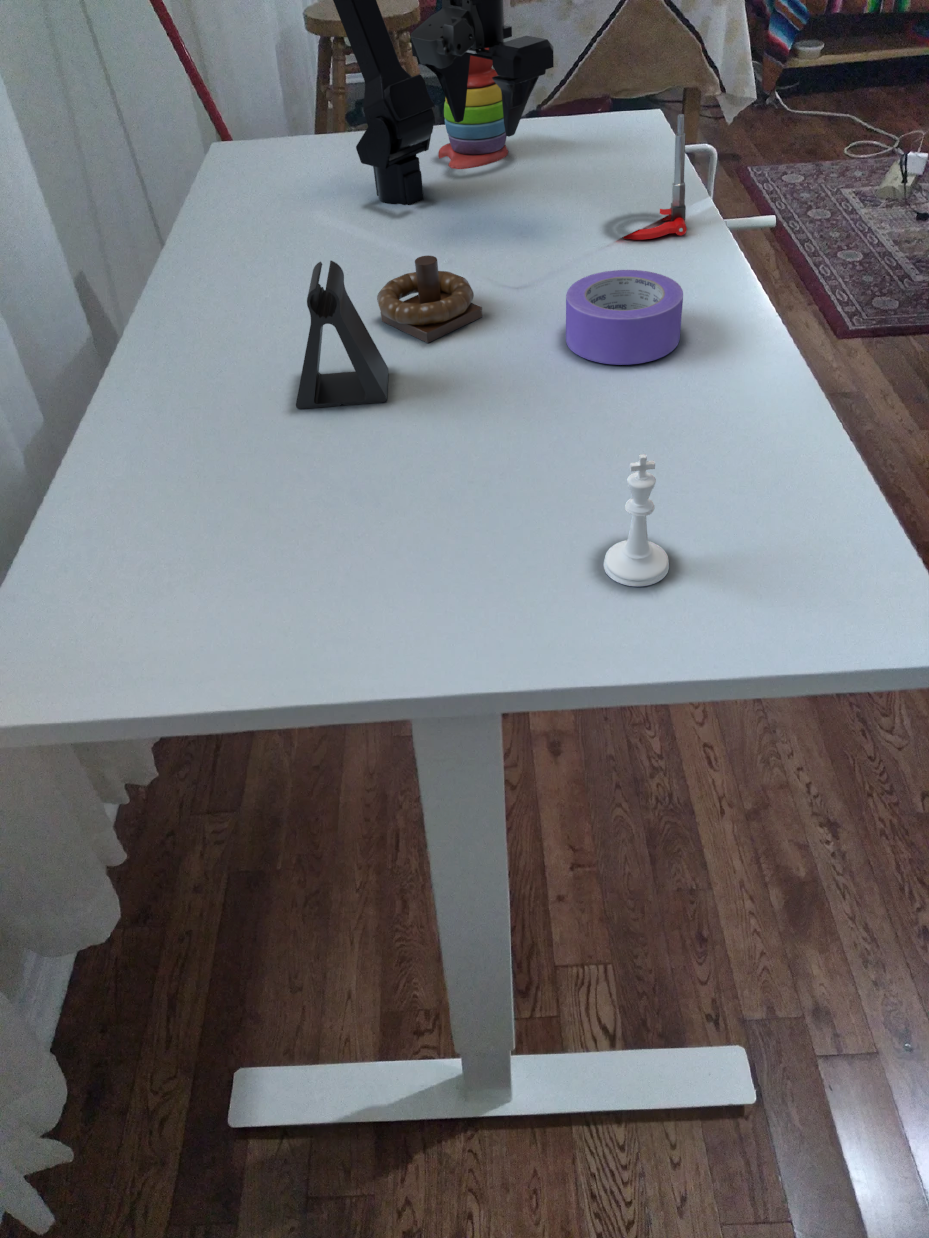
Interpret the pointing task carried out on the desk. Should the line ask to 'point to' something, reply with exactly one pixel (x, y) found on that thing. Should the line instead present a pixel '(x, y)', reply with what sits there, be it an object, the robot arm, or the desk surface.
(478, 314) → the post
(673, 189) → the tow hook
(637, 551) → the chess piece
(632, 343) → the tape roll
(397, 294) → the ring
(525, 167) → the desk surface
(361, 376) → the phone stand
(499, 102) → the stacking bear
